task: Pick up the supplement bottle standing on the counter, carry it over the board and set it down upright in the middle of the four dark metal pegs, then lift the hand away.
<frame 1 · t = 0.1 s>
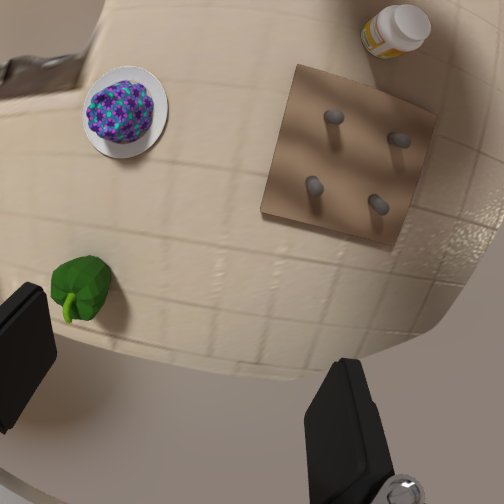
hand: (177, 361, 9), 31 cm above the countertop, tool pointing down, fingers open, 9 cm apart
peg cradle: (350, 157, 36), on the countertop
pudding: (125, 111, 35), on the countertop
bell pepper: (95, 270, 44), on the countertop
supplement bottle: (380, 39, 30), on the countertop
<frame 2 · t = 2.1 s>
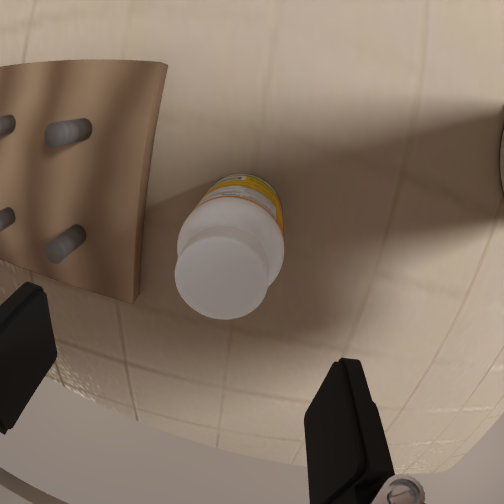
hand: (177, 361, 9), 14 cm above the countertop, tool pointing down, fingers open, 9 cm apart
peg cradle: (50, 172, 21), on the countertop
supplement bottle: (242, 209, 22), on the countertop
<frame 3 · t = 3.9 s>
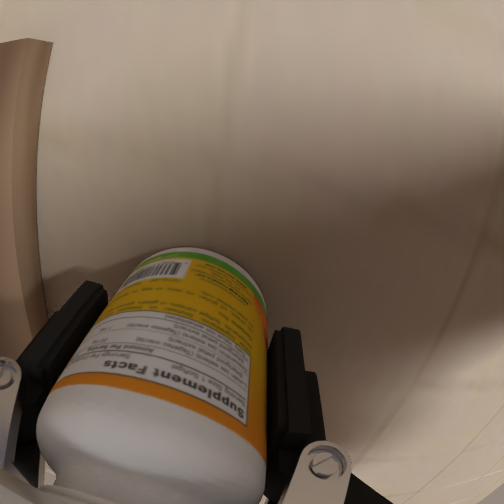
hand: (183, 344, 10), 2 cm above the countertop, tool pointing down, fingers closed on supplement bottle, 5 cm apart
supplement bottle: (195, 306, 12), on the countertop, touching gripper
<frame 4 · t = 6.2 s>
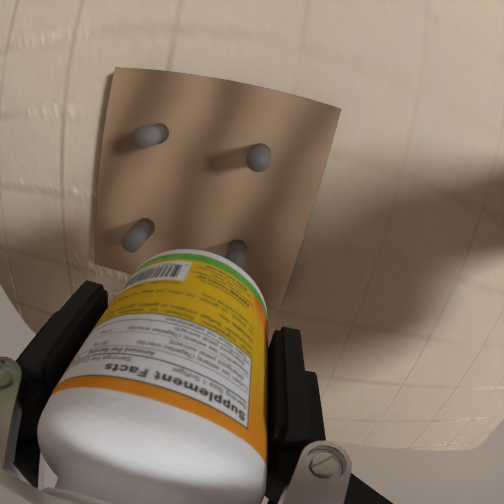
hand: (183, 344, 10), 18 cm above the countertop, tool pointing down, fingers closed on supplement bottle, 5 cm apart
peg cradle: (202, 187, 26), on the countertop
supplement bottle: (196, 308, 12), point 16 cm above the countertop, touching gripper
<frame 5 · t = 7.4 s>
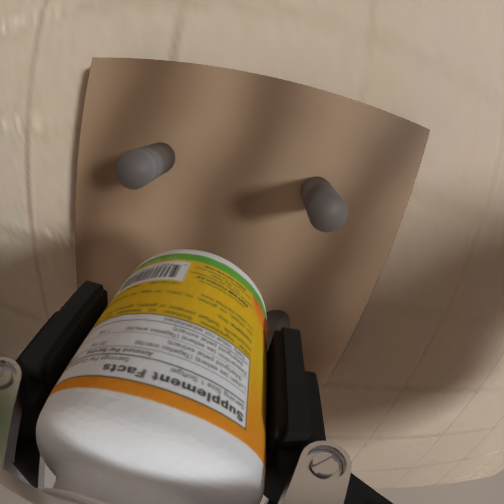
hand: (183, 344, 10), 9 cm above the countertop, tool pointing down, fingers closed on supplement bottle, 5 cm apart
peg cradle: (225, 235, 18), on the countertop
supplement bottle: (195, 308, 12), point 7 cm above the countertop, touching gripper
when the fingers open (5 cm above the countertop, at t = 8.5 s): supplement bottle drops 2 cm, resting on peg cradle.
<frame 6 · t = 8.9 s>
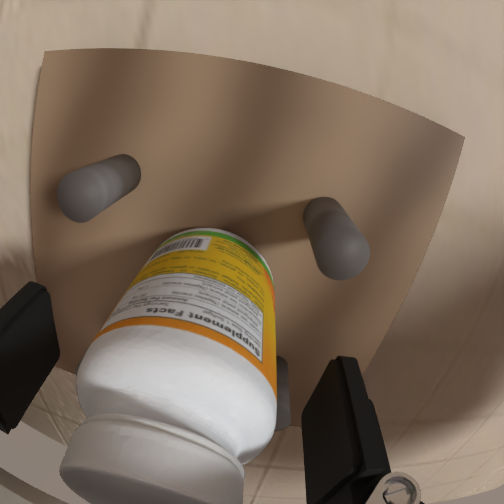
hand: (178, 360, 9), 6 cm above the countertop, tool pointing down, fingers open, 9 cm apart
peg cradle: (209, 267, 15), on the countertop
supplement bottle: (211, 282, 14), point 1 cm above the countertop, touching peg cradle
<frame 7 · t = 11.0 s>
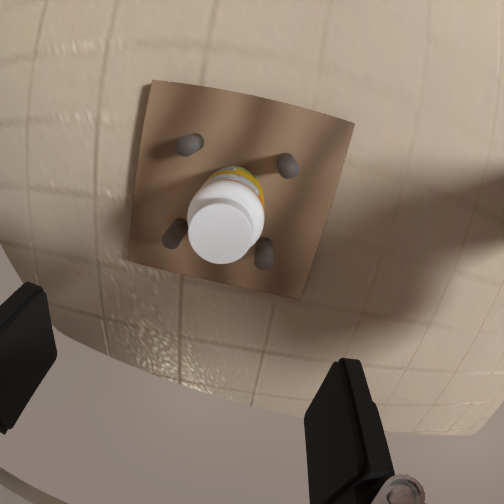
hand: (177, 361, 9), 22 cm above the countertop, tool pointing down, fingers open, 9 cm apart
peg cradle: (231, 190, 30), on the countertop
supplement bottle: (233, 194, 28), point 1 cm above the countertop, touching peg cradle
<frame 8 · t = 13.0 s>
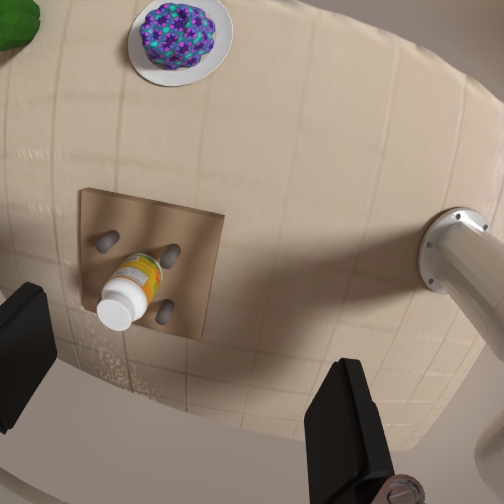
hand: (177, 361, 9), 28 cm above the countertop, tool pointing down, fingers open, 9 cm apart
peg cradle: (145, 265, 40), on the countertop
pudding: (180, 37, 29), on the countertop
bell pepper: (28, 26, 26), on the countertop
supplement bottle: (143, 270, 39), point 1 cm above the countertop, touching peg cradle
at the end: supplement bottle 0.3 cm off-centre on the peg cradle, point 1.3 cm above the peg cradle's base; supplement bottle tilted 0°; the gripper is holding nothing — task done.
